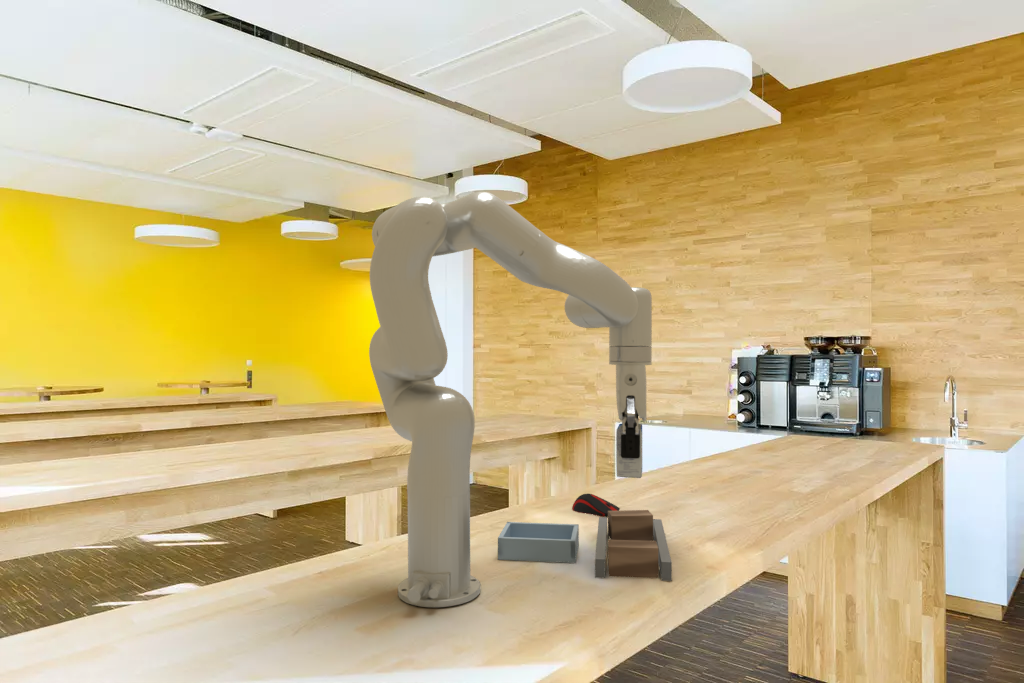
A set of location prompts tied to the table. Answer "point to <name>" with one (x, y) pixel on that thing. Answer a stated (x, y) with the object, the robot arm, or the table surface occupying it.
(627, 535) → the far walnut block
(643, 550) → the near walnut block
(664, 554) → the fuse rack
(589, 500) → the computer mouse
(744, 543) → the table surface
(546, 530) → the tray
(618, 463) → the medicine box
